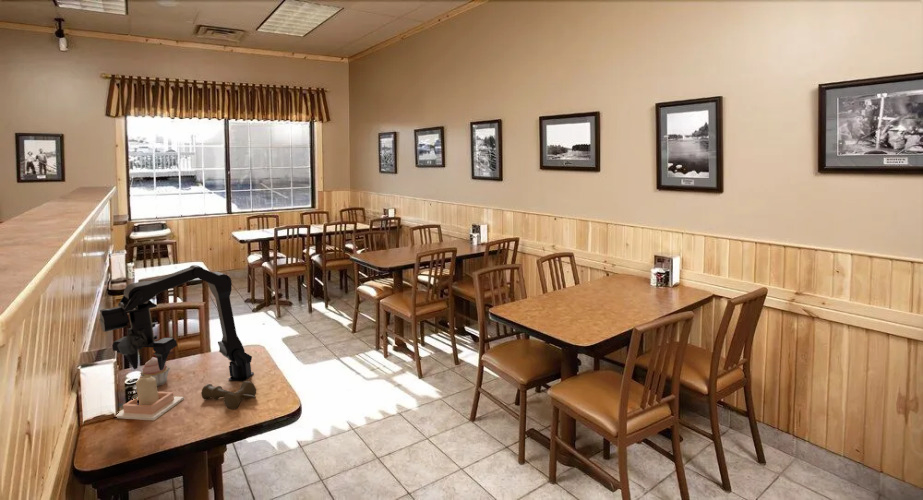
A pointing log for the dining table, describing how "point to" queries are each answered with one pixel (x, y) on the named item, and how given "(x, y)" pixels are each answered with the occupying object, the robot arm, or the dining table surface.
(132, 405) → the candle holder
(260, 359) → the dining table surface
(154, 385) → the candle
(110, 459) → the dining table surface
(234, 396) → the kendama
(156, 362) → the cupcake
